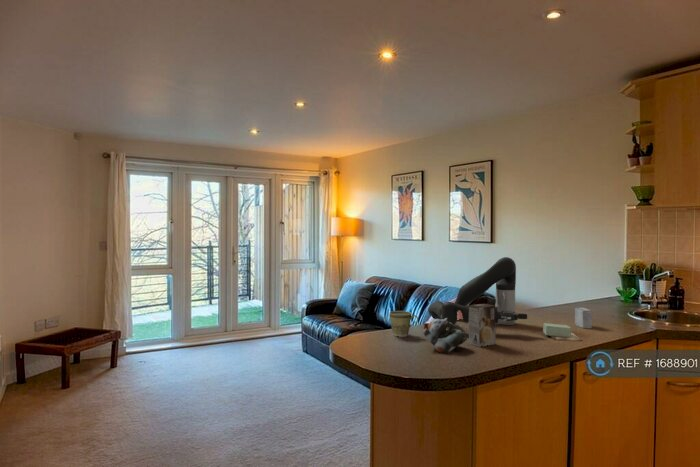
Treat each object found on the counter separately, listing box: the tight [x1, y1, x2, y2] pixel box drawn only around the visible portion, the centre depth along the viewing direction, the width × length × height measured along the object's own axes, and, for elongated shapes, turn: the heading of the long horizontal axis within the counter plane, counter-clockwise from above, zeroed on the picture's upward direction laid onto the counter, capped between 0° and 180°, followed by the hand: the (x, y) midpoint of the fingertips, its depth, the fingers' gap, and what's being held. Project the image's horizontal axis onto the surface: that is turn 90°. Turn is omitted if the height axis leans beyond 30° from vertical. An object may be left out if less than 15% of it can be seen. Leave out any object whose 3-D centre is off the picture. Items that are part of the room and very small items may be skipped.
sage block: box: [542, 322, 572, 337], centre depth 191 cm, size 4×6×10 cm
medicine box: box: [574, 307, 593, 329], centre depth 211 cm, size 8×4×9 cm, turn 179°
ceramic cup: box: [389, 310, 419, 338], centre depth 193 cm, size 13×10×10 cm
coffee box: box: [468, 303, 497, 348], centre depth 179 cm, size 9×6×16 cm
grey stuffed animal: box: [422, 317, 468, 354], centre depth 172 cm, size 15×12×14 cm
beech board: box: [548, 332, 582, 342], centre depth 190 cm, size 11×12×1 cm
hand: (526, 316), depth 193 cm, fingers closed
